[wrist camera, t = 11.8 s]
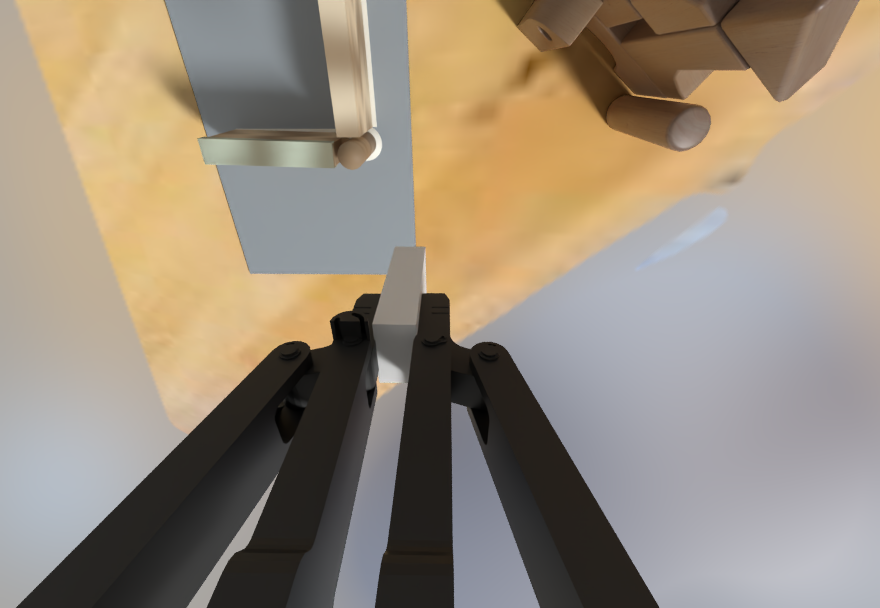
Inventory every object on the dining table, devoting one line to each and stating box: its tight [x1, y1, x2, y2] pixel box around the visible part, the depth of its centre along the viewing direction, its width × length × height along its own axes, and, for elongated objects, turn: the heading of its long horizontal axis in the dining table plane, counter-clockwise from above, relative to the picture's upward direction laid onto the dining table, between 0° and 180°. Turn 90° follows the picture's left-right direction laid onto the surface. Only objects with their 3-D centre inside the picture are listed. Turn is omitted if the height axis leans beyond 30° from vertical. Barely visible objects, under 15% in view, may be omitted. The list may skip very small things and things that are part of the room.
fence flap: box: [198, 129, 349, 168], centre depth 36 cm, size 12×2×7 cm, turn 88°
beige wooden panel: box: [318, 0, 376, 170], centre depth 33 cm, size 17×2×8 cm, turn 0°
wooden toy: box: [517, 0, 859, 152], centre depth 25 cm, size 15×7×25 cm, turn 53°
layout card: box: [165, 0, 416, 274], centre depth 40 cm, size 32×22×1 cm
